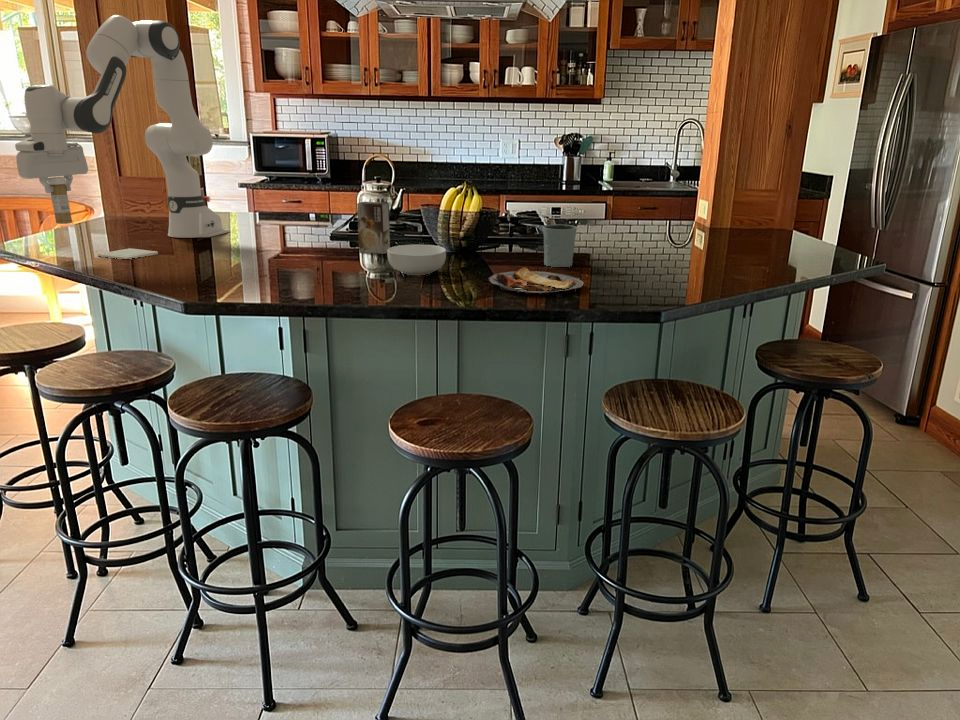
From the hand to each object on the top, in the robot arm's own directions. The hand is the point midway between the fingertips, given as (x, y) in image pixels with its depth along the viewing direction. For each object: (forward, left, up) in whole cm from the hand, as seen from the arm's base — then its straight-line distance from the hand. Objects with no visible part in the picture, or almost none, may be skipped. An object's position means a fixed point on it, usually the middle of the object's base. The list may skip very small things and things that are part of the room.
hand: (58, 192), depth 214 cm
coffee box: (-54, +76, -19) cm, 95 cm away
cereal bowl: (-30, +105, -20) cm, 111 cm away
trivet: (-10, +14, -19) cm, 26 cm away
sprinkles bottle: (0, 0, -9) cm, 9 cm away
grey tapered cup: (-62, +137, -19) cm, 151 cm away
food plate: (-30, +141, -20) cm, 145 cm away
